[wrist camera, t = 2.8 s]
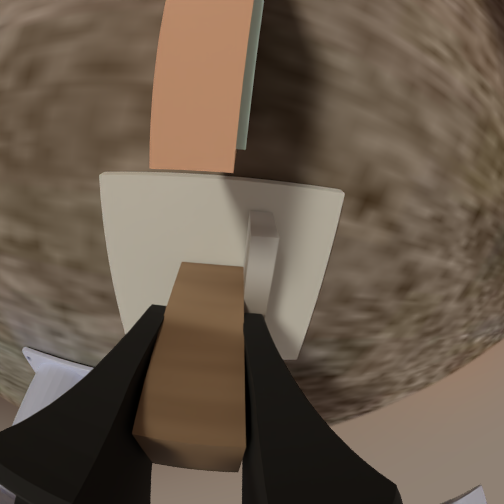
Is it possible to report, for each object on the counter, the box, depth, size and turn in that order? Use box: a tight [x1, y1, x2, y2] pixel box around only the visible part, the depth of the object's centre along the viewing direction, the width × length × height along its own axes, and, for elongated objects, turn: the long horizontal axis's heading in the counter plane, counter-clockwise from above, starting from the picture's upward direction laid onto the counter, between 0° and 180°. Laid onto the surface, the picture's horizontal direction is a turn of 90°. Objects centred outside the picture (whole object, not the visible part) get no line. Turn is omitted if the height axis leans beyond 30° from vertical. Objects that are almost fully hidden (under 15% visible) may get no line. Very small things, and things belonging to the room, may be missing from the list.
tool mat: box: [99, 172, 345, 360], centre depth 11 cm, size 9×9×1 cm
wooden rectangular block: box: [132, 211, 279, 472], centre depth 8 cm, size 7×3×7 cm, turn 174°
